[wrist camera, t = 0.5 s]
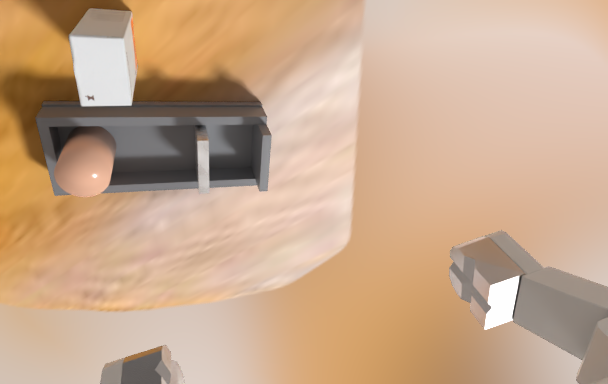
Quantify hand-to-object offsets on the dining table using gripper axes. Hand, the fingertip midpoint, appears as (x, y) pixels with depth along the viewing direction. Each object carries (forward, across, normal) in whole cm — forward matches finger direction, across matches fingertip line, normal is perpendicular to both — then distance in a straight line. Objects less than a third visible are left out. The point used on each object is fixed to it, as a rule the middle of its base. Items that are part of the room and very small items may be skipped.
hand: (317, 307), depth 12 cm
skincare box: (+42, +10, 0) cm, 43 cm away
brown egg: (+41, +17, +11) cm, 46 cm away
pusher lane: (+42, +9, +13) cm, 45 cm away
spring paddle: (+41, +5, +14) cm, 44 cm away
